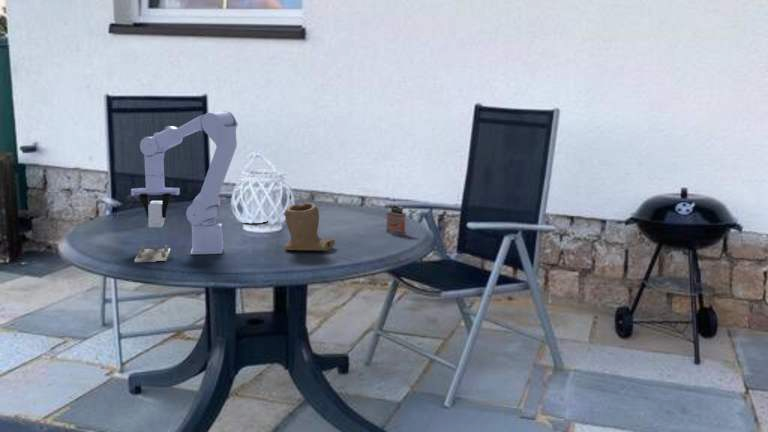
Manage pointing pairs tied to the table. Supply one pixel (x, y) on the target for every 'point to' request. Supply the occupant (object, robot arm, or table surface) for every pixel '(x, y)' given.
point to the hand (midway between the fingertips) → (156, 217)
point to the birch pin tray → (152, 254)
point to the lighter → (396, 220)
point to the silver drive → (155, 214)
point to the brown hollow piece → (305, 229)
